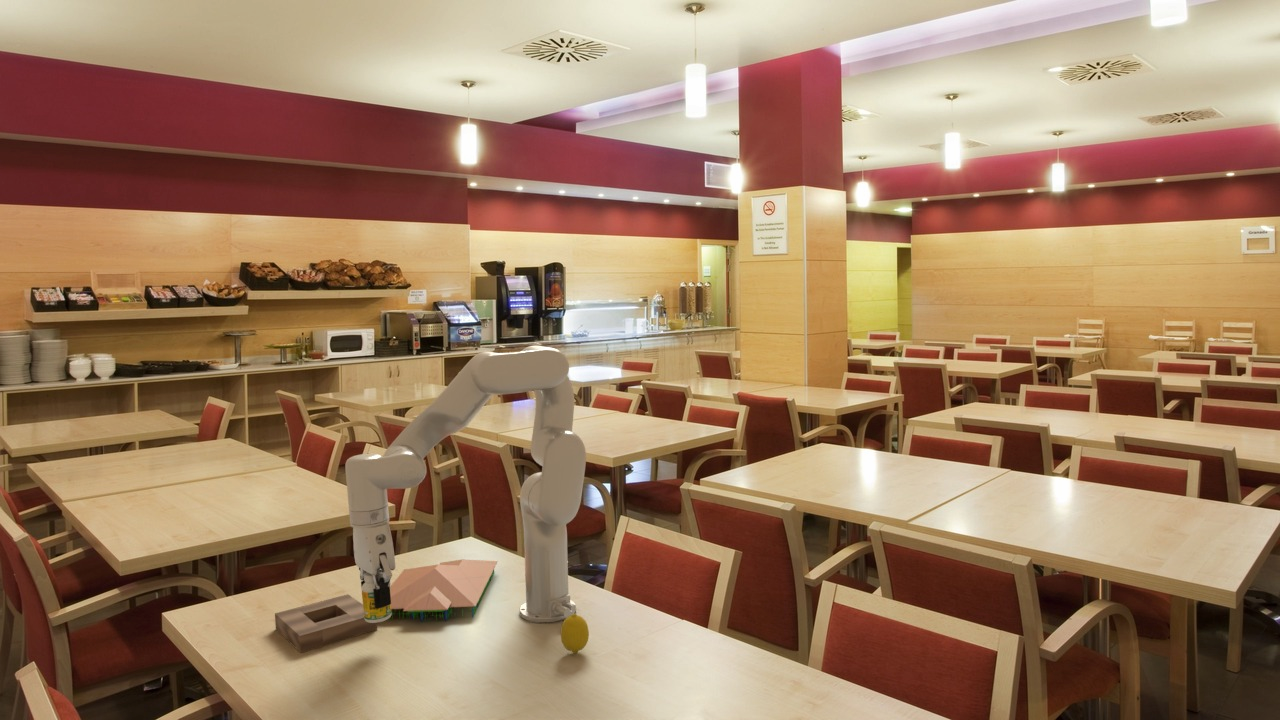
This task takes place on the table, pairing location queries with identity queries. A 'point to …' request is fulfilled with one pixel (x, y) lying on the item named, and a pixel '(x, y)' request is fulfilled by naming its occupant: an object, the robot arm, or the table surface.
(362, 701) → the table surface
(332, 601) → the holder
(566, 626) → the lemon
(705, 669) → the table surface
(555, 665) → the table surface
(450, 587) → the house
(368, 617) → the supplement bottle
